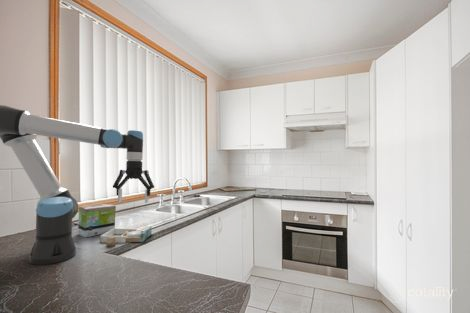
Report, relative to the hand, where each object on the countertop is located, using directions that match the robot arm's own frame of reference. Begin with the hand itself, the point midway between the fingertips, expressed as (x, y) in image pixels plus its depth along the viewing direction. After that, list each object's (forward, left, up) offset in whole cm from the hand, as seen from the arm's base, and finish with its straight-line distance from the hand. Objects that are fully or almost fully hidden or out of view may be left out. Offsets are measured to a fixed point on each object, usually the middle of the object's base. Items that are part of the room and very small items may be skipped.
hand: (133, 202), depth 123 cm
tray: (0, -1, -18) cm, 18 cm away
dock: (0, +6, -18) cm, 19 cm away
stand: (-11, +5, -18) cm, 22 cm away
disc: (0, -1, -17) cm, 17 cm away
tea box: (+8, +22, -19) cm, 30 cm away
